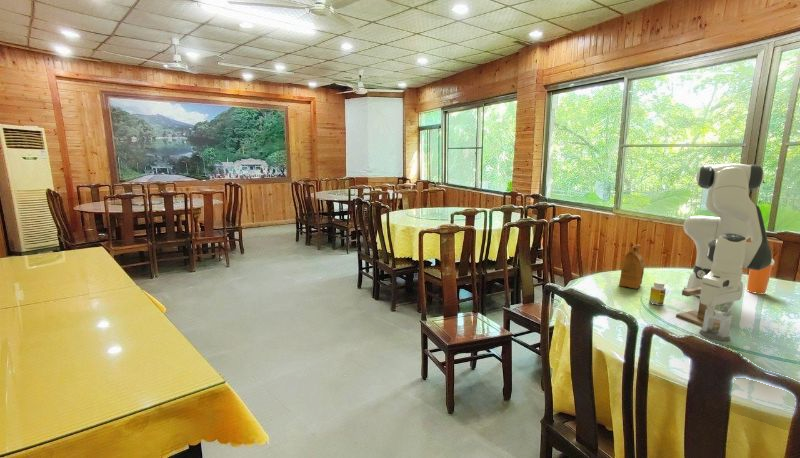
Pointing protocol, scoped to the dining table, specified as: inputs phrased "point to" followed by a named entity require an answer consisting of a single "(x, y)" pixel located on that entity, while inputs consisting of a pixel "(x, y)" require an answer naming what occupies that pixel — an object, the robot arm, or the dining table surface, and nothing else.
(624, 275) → the coffee package
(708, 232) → the robot arm
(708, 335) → the felt pad
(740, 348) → the dining table surface
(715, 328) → the hook stand
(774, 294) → the dining table surface
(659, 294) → the supplement bottle
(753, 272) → the shaker bottle
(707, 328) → the c link
